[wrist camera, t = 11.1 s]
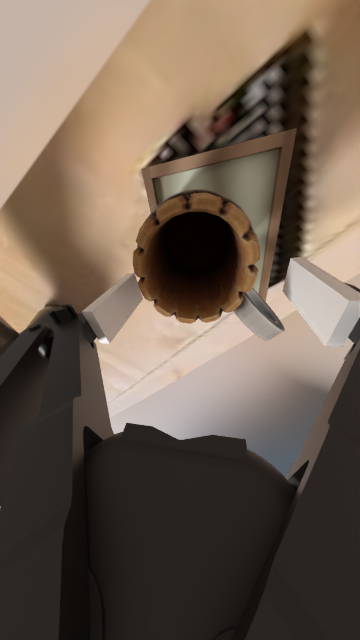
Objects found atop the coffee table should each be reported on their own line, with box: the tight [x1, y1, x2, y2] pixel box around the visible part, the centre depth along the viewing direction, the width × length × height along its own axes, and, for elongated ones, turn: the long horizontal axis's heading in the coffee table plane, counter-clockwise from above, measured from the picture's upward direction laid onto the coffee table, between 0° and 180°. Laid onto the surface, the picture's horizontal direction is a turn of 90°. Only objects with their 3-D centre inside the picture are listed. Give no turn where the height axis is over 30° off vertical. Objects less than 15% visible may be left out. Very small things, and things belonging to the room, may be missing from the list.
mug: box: [133, 189, 285, 341], centre depth 17 cm, size 16×11×15 cm
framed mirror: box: [142, 128, 297, 302], centre depth 25 cm, size 16×20×5 cm
